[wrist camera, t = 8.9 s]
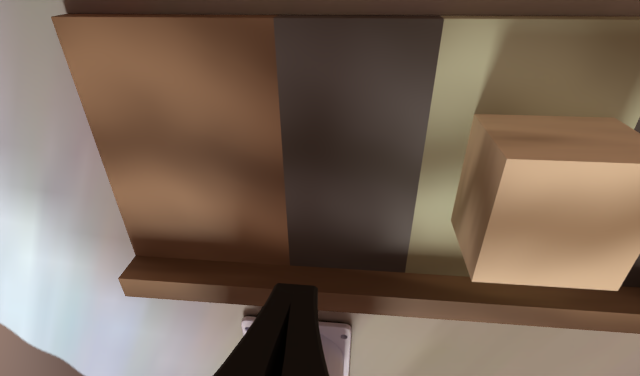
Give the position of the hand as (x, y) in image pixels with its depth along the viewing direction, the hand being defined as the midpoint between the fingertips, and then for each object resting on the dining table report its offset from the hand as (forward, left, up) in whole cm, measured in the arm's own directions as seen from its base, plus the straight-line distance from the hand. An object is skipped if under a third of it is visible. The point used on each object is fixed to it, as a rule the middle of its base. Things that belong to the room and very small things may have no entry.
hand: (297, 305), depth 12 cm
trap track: (+1, -4, -9) cm, 10 cm away
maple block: (+1, -10, -8) cm, 13 cm away
